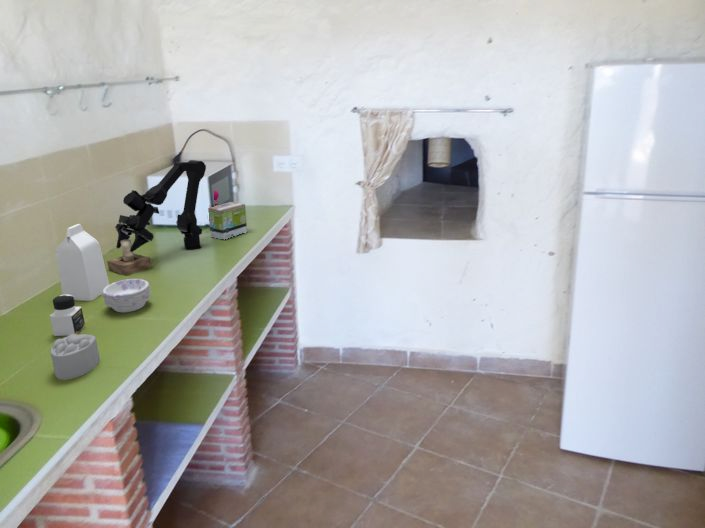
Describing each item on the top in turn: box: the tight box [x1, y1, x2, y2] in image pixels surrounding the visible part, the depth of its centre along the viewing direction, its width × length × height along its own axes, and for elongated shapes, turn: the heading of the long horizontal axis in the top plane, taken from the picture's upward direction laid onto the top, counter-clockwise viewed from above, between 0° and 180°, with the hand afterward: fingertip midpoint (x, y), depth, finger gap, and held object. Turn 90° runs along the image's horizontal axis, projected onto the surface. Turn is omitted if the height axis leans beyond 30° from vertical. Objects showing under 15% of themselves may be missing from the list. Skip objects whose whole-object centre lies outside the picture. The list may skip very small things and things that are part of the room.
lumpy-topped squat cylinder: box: [50, 333, 101, 381], centre depth 168 cm, size 10×13×9 cm
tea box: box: [207, 201, 248, 241], centre depth 287 cm, size 15×10×15 cm
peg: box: [120, 238, 134, 263], centre depth 246 cm, size 4×4×12 cm
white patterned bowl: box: [102, 278, 152, 313], centre depth 208 cm, size 15×15×8 cm
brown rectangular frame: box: [107, 252, 152, 276], centre depth 248 cm, size 12×12×4 cm
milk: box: [55, 223, 110, 302], centre depth 219 cm, size 12×12×26 cm
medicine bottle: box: [49, 294, 86, 337], centre depth 191 cm, size 7×7×12 cm
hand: (124, 249), depth 244 cm, fingers open, 9 cm apart
